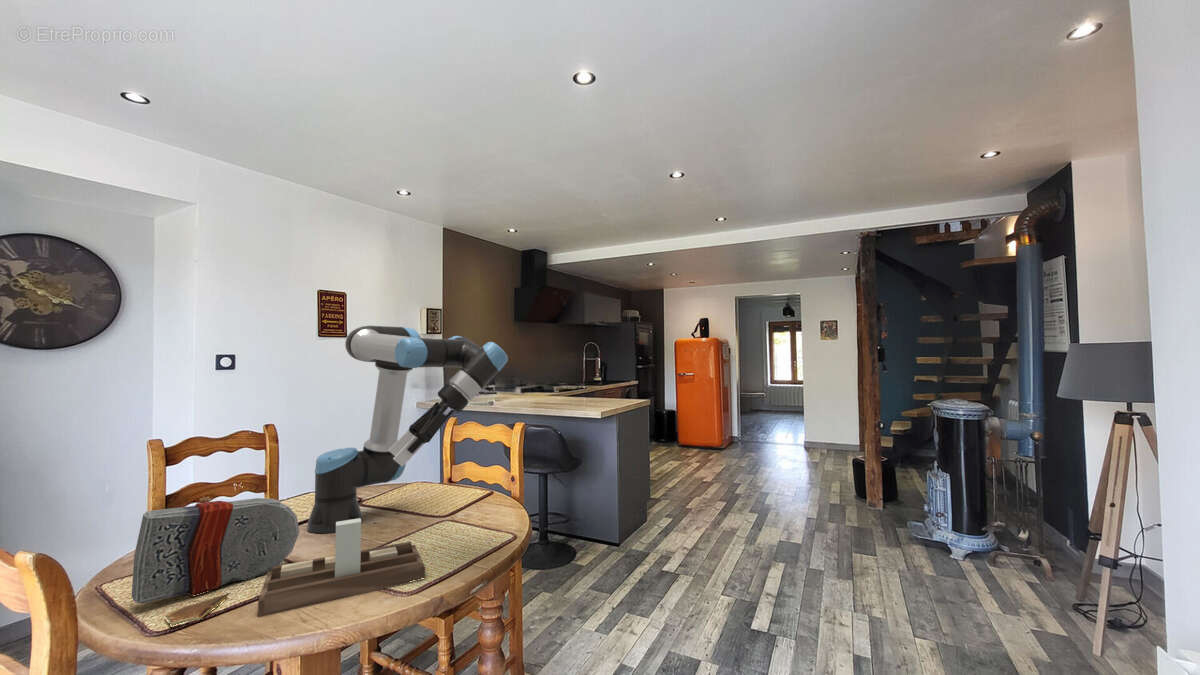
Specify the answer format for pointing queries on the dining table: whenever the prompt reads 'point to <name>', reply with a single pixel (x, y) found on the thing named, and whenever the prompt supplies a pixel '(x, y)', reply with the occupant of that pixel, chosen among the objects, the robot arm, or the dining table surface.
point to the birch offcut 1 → (296, 568)
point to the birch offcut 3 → (382, 553)
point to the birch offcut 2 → (329, 562)
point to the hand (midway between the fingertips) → (394, 458)
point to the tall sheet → (348, 547)
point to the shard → (194, 610)
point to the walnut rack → (339, 580)
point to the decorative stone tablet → (209, 546)
